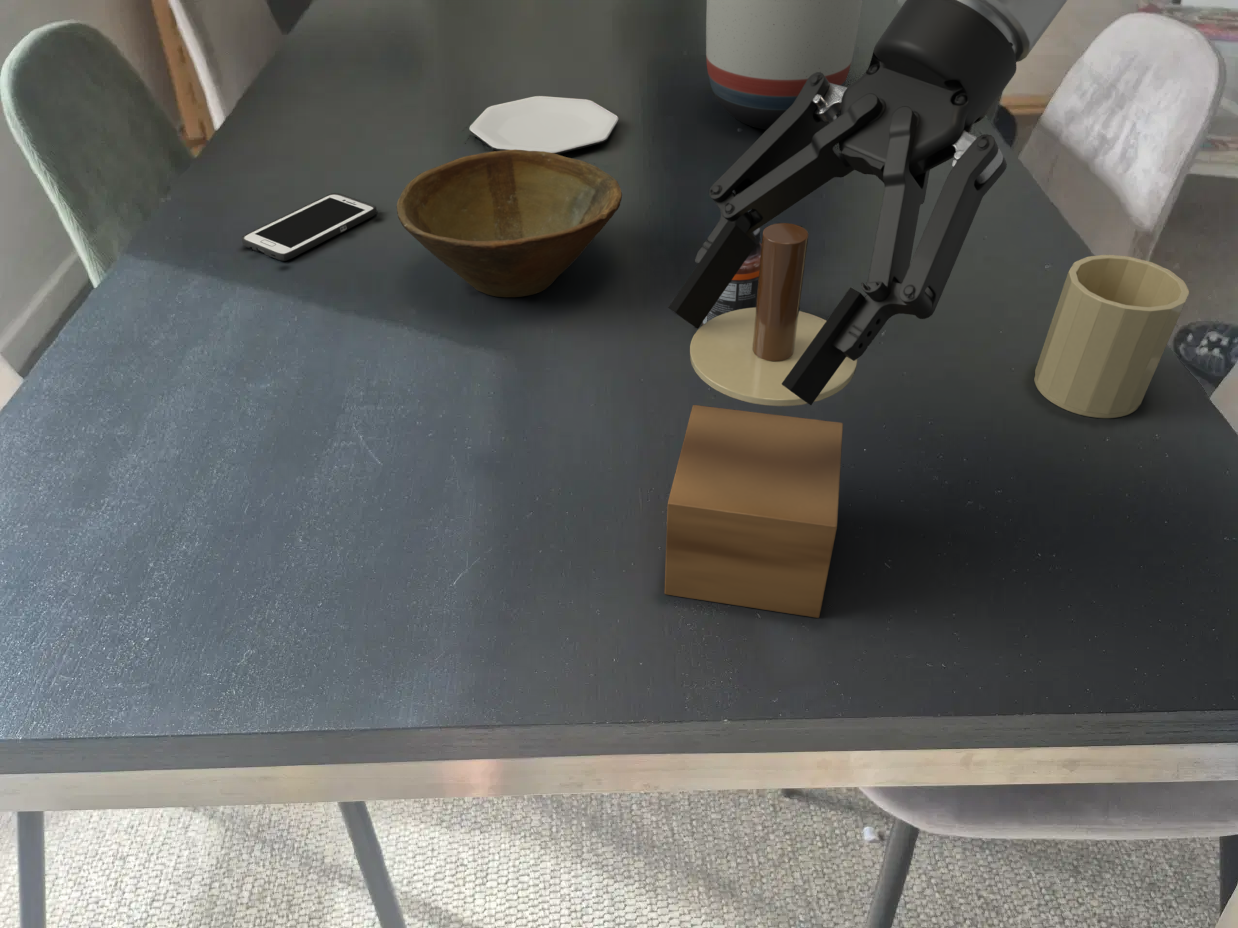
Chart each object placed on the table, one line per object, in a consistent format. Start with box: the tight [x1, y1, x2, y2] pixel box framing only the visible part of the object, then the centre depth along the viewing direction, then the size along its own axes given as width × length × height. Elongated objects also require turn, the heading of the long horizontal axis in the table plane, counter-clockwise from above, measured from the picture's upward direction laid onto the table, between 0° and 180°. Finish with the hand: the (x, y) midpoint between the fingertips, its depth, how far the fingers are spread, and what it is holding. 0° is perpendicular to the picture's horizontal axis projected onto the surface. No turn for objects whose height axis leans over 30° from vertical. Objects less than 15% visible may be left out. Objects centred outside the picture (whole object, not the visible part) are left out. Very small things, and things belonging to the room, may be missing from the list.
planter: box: [705, 0, 864, 131], centre depth 129 cm, size 20×20×21 cm
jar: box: [1033, 254, 1190, 419], centre depth 83 cm, size 9×9×11 cm
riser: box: [664, 404, 844, 619], centre depth 68 cm, size 11×11×9 cm
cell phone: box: [241, 192, 378, 262], centre depth 111 cm, size 8×15×1 cm, turn 145°
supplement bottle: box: [702, 227, 762, 325], centre depth 91 cm, size 6×6×11 cm
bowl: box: [395, 149, 623, 298], centre depth 100 cm, size 22×23×10 cm
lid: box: [689, 222, 858, 407], centre depth 57 cm, size 10×10×8 cm
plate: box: [469, 95, 620, 155], centre depth 133 cm, size 20×20×2 cm
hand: (736, 354), depth 57 cm, fingers closed on lid, 10 cm apart
